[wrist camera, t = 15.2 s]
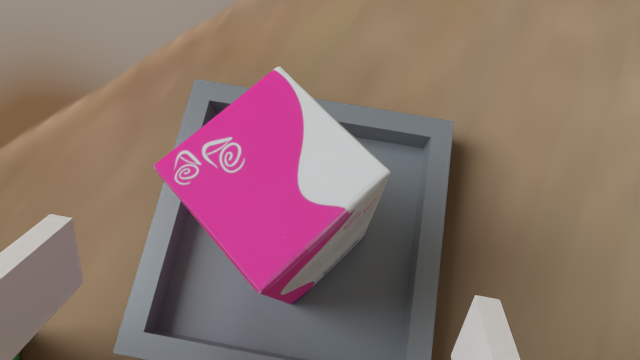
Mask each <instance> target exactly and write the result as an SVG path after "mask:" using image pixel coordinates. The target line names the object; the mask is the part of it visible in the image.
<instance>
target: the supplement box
mask: <svg viewBox="0 0 640 360" xmlns="http://www.w3.org/2000/svg"><path fill="white" fill-rule="evenodd" d="M154 168H155V170H156V171H157V173H158V174H159V175H160V176H161V177H162V179H163V180H164V181H165V182H166V183H167V185H168V186H169V187H170V188H171V189H172V191H173V192H174V193H175V194H176V195H177V197H178V198H179V199H180V200H181V201H182V203H183V204H184V205H185V206H186V207H187V209H188V210H189V211H190V212H191V213H192V215H193V216H194V217H195V218H196V219H197V221H198V222H199V223H200V224H201V226H202V227H203V228H204V229H205V231H206V232H207V233H208V234H209V235H210V237H211V238H212V239H213V240H214V241H215V243H216V244H217V245H218V246H219V247H220V249H221V250H222V251H223V252H224V253H225V255H226V256H227V257H228V258H229V259H230V261H231V262H232V263H233V264H234V265H235V267H236V268H237V269H238V270H239V271H240V273H241V274H242V275H243V276H244V277H245V279H246V280H247V281H248V282H249V283H250V285H251V286H252V287H253V288H254V289H255V290H256V292H257V293H259V294H262V295H265V296H269V297H271V298H274V299H277V300H279V301H282V302H285V303H287V304H291V305H292V304H294V303H295V302H297V301H298V300H299V299H300V298H301V297H303V296H304V295H305V294H306V293H307V292H308V291H309V290H310V289H311V288H313V287H314V286H315V285H316V284H317V283H318V282H319V281H320V280H321V279H322V278H323V277H324V276H325V275H326V274H327V273H328V272H330V271H331V270H332V269H333V268H334V267H335V266H336V265H337V264H338V263H339V262H340V261H341V260H342V259H343V258H344V257H345V256H346V255H347V254H348V253H349V252H350V251H351V250H352V249H353V248H354V247H355V246H356V245H357V244H358V243H359V242H360V241H361V240H362V239H363V238H364V235H365V233H366V230H367V227H368V225H369V223H370V221H371V218H372V216H373V214H374V212H375V209H376V207H377V205H378V203H379V200H380V198H381V196H382V193H383V191H384V189H385V187H386V184H387V182H388V180H389V177H390V176H391V171H390V170H389V169H388V168H387V167H386V166H385V165H384V164H383V163H382V162H381V161H380V160H379V159H377V158H376V157H375V156H374V155H373V154H372V153H371V152H370V151H369V150H368V149H367V148H366V147H365V146H363V145H362V144H361V143H360V142H359V141H358V140H357V139H356V138H355V137H354V136H353V135H352V134H351V133H349V132H348V131H347V130H346V129H345V128H344V127H343V126H342V125H341V124H340V123H339V122H338V121H337V120H336V119H335V118H333V117H332V116H331V115H330V114H329V113H328V112H327V111H326V110H325V109H324V108H323V107H322V106H321V105H319V104H318V103H317V102H316V101H315V100H314V99H313V98H312V97H311V96H310V95H309V94H308V93H307V92H306V91H305V90H304V89H303V88H302V87H301V86H300V85H299V84H298V83H297V82H296V81H295V80H294V79H293V78H291V77H290V76H289V75H288V74H287V73H286V72H285V71H284V70H283V69H282V68H281V67H276V68H275V69H274V70H273V71H272V72H270V73H269V74H268V75H266V76H265V77H264V78H262V79H261V80H260V81H259V82H258V83H256V84H255V85H254V86H253V87H251V88H250V89H249V90H248V91H246V92H245V93H244V94H243V95H241V96H240V97H239V98H238V99H236V100H235V101H234V102H233V103H231V104H230V105H229V106H228V107H226V108H225V109H224V110H223V111H221V112H220V113H219V114H218V115H216V116H215V117H214V118H213V119H212V120H210V121H209V122H208V123H207V124H205V125H204V126H203V127H201V128H200V129H199V130H198V131H196V132H195V133H194V134H193V135H192V136H190V137H189V138H188V139H186V140H185V141H184V142H183V143H181V144H180V145H179V146H178V147H176V148H175V149H174V150H173V151H171V152H170V153H169V154H168V155H166V156H165V157H164V158H163V159H161V160H160V161H159V162H158V163H156V164H155V165H154Z"/></svg>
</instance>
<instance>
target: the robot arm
mask: <svg viewBox="0 0 640 360" xmlns="http://www.w3.org/2000/svg"><path fill="white" fill-rule="evenodd" d="M82 283H83V278H82V272H81V266H80V260H79V254H78V248H77V242H76V236H75V230H74V223H73V218H69V217H63V216H58V215H53V214H50V215H48V216H47V217H46V218H45V219H43V220H42V221H41V222H39V223H38V224H37V225H35V226H34V227H33V228H32V229H30V230H29V231H28V232H26V233H25V234H24V235H23V236H21V237H20V238H19V239H17V240H16V241H15V242H14V243H12V244H11V245H10V246H8V247H7V248H6V249H4V250H3V251H2V252H1V253H0V360H12V359H13V358H14V357H15V356H16V355H17V354H18V353H19V352H20V351H21V350H22V348H23V347H24V346H25V345H26V344H27V343H28V342H29V341H30V340H31V339H32V338H33V337H34V335H35V334H36V333H37V332H38V331H39V330H40V329H41V328H42V327H43V326H44V325H45V323H46V322H47V321H48V320H49V319H50V318H51V317H52V316H53V315H54V314H55V313H56V312H57V310H58V309H59V308H60V307H61V306H62V305H63V304H64V303H65V302H66V301H67V300H68V299H69V297H70V296H71V295H72V294H73V293H74V292H75V291H76V290H77V289H78V288H79V287H80V285H81V284H82ZM451 360H520V357H519V354H518V351H517V348H516V346H515V343H514V340H513V337H512V334H511V331H510V328H509V325H508V322H507V319H506V316H505V313H504V310H503V307H502V304H501V302H500V300H499V299H494V298H489V297H483V296H478V295H475V296H474V299H473V301H472V304H471V306H470V309H469V311H468V314H467V316H466V319H465V321H464V324H463V326H462V329H461V331H460V334H459V336H458V339H457V341H456V344H455V346H454V349H453V351H452V354H451Z"/></svg>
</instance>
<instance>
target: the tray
mask: <svg viewBox="0 0 640 360" xmlns="http://www.w3.org/2000/svg"><path fill="white" fill-rule="evenodd" d="M249 89H250V88H246V87H240V86H234V85H228V84H222V83H216V82H210V81H204V80H197V79H195V80H194V83H193V87H192V90H191V93H190V97H189V100H188V103H187V107H186V110H185V113H184V117H183V120H182V123H181V127H180V130H179V133H178V137H177V140H176V143H175V147H174V149H175V148H176V147H178V146H179V145H180V144H181V143H183V142H184V141H185V140H186V139H188V138H189V137H190V136H192V135H193V134H194V133H195V132H196V131H198V130H199V129H200V128H201V127H203V126H204V125H205V124H207V123H208V122H209V121H210V120H212V119H213V118H214V117H215V116H216V115H218V114H219V113H220V112H221V111H223V110H224V109H225V108H226V107H228V106H229V105H230V104H231V103H233V102H234V101H235V100H236V99H238V98H239V97H240V96H241V95H243V94H244V93H245V92H246V91H248V90H249ZM313 99H314V98H313ZM314 100H315V101H316V102H317V103H318V104H319V105H321V106H322V107H323V108H324V109H325V110H326V111H327V112H328V113H329V114H330V115H331V116H332V117H333V118H335V119H336V120H337V121H338V122H339V123H340V124H341V125H342V126H343V127H344V128H345V129H346V130H347V131H348V132H349V133H351V134H352V135H353V136H354V137H355V138H356V139H357V140H358V141H359V142H360V143H361V144H362V145H363V146H365V147H366V148H367V149H368V150H369V151H370V152H371V153H372V154H373V155H374V156H375V157H376V158H377V159H379V160H380V161H381V162H382V163H383V164H384V165H385V166H386V167H387V168H388V169H389V170H390V171H391V176H390V177H389V180H388V182H387V184H386V187H385V189H384V191H383V193H382V196H381V198H380V200H379V203H378V205H377V207H376V209H375V212H374V214H373V216H372V218H371V221H370V223H369V225H368V227H367V230H366V233H365V235H364V238H363V239H362V240H361V241H360V242H359V243H358V244H357V245H356V246H355V247H354V248H353V249H352V250H351V251H350V252H349V253H348V254H347V255H346V256H345V257H344V258H343V259H342V260H341V261H340V262H339V263H338V264H337V265H336V266H335V267H334V268H333V269H332V270H331V271H330V272H328V273H327V274H326V275H325V276H324V277H323V278H322V279H321V280H320V281H319V282H318V283H317V284H316V285H315V286H314V287H313V288H311V289H310V290H309V291H308V292H307V293H306V294H305V295H304V296H303V297H301V298H300V299H299V300H298V301H297V302H295V303H294V304H292V305H291V304H287V303H285V302H282V301H279V300H277V299H274V298H271V297H269V296H265V295H262V294H259V293H257V292H256V290H255V289H254V288H253V287H252V286H251V285H250V283H249V282H248V281H247V280H246V279H245V277H244V276H243V275H242V274H241V273H240V271H239V270H238V269H237V268H236V267H235V265H234V264H233V263H232V262H231V261H230V259H229V258H228V257H227V256H226V255H225V253H224V252H223V251H222V250H221V249H220V247H219V246H218V245H217V244H216V243H215V241H214V240H213V239H212V238H211V237H210V235H209V234H208V233H207V232H206V231H205V229H204V228H203V227H202V226H201V224H200V223H199V222H198V221H197V219H196V218H195V217H194V216H193V215H192V213H191V212H190V211H189V210H188V209H187V207H186V206H185V205H184V204H183V203H182V201H181V200H180V199H179V198H178V197H177V195H176V194H175V193H174V192H173V191H172V189H171V188H170V187H169V186H168V185H167V183H166V182H165V181H164V183H163V187H162V190H161V193H160V197H159V200H158V204H157V207H156V210H155V214H154V217H153V220H152V224H151V227H150V230H149V234H148V237H147V240H146V244H145V247H144V250H143V254H142V257H141V260H140V264H139V267H138V270H137V274H136V277H135V280H134V284H133V287H132V290H131V294H130V297H129V300H128V304H127V307H126V310H125V314H124V317H123V320H122V324H121V327H120V330H119V334H118V337H117V340H116V344H115V347H114V350H113V353H114V354H120V355H125V356H130V357H135V358H140V359H145V360H431V356H432V345H433V335H434V324H435V314H436V303H437V293H438V282H439V272H440V261H441V251H442V240H443V230H444V219H445V209H446V199H447V188H448V178H449V167H450V157H451V146H452V136H453V125H454V121H448V120H442V119H436V118H430V117H424V116H418V115H412V114H406V113H399V112H393V111H387V110H381V109H375V108H369V107H363V106H357V105H351V104H344V103H338V102H332V101H326V100H320V99H314Z"/></svg>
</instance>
